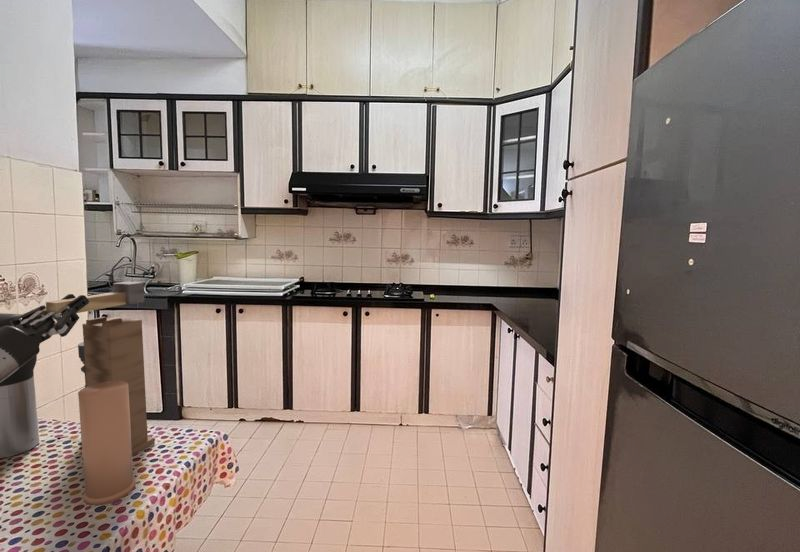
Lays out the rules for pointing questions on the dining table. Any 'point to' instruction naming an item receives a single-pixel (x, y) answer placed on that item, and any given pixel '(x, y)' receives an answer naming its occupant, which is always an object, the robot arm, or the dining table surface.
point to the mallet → (106, 298)
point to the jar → (106, 442)
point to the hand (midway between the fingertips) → (79, 297)
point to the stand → (119, 366)
